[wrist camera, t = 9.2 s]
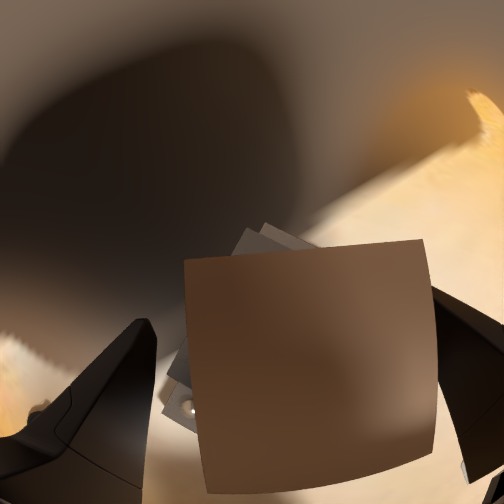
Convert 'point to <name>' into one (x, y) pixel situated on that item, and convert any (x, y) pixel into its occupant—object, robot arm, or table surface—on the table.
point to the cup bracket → (181, 397)
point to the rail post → (311, 364)
